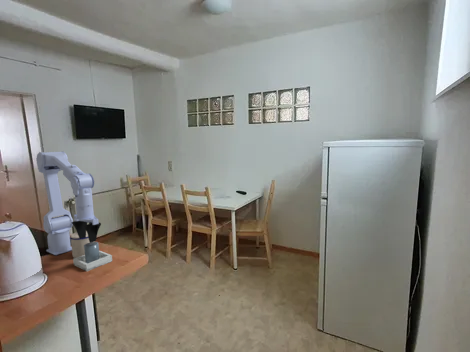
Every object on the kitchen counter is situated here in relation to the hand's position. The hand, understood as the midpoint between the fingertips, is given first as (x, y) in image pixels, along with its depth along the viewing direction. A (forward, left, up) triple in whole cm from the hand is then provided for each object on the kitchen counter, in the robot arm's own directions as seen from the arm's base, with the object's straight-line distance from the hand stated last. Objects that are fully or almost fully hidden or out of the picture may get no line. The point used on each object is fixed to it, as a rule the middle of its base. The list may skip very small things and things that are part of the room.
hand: (87, 239), depth 103 cm
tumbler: (+1, +1, -9) cm, 9 cm away
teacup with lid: (-12, +5, -10) cm, 17 cm away
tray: (+1, +1, -10) cm, 10 cm away
